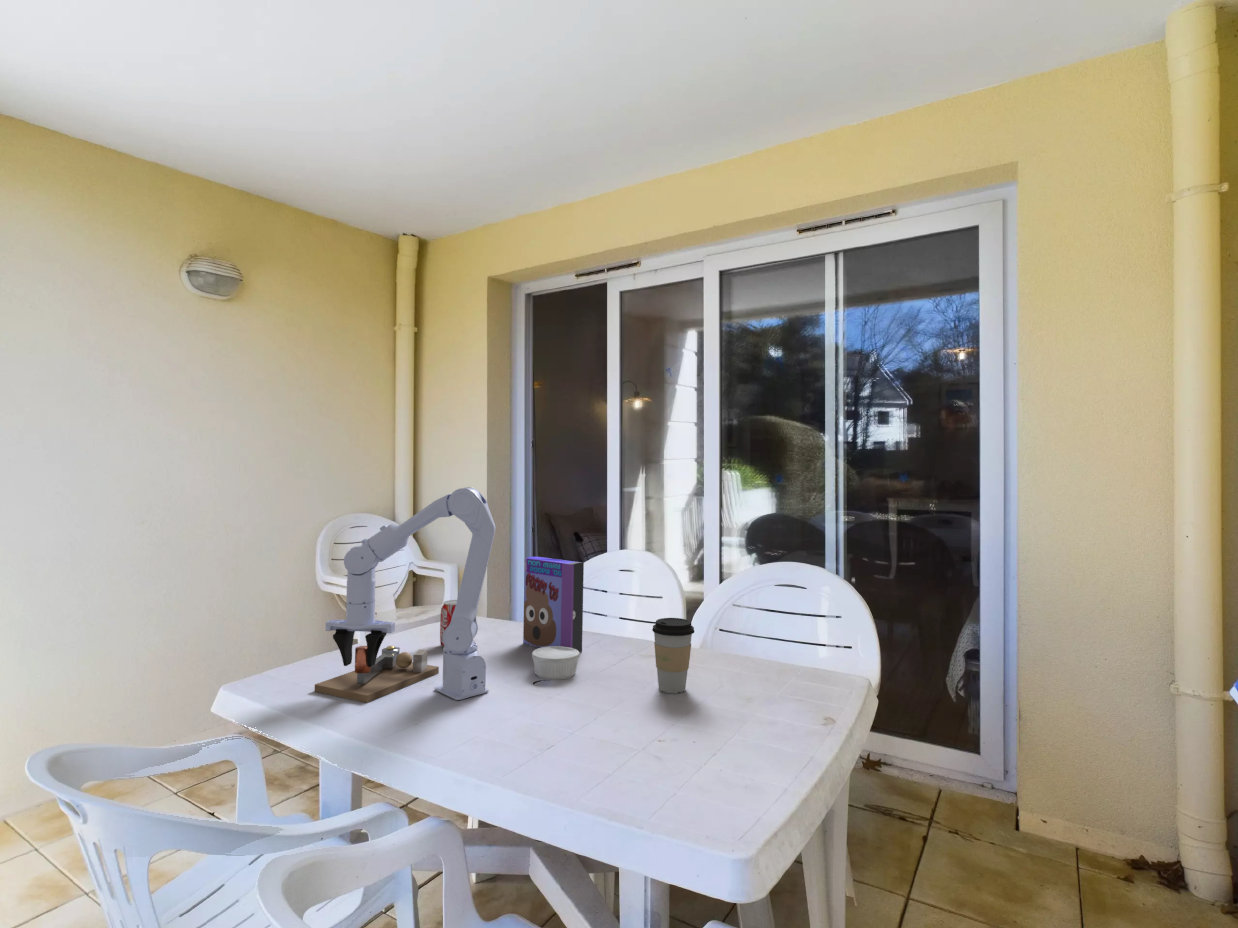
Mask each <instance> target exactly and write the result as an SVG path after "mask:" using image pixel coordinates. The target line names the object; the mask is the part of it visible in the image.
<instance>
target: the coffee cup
mask: <svg viewBox="0 0 1238 928" xmlns="http://www.w3.org/2000/svg"><path fill="white" fill-rule="evenodd" d="M651 631H652V632H653V633H654V635H653V636H654V643H653V644H654V654H655V655H654V657H655V667H656V673H657V687H658V689H659V691H660V692H662V691H663V692H662V693H665V692H666V694H673V693H674V694H679V693H678V692H681V693H683V692H682V691H684V690H685V691H686V686H687V678H688V670H689V667H690V659H691V651H692V637H693V636H692V634H694V633H695V628H694V626H693V625H692V622H691V621H690V620H688V619H685V618H680V617H679V618H678V617H663V618H659V619H656V620H655V624H653V625H652V628H651ZM685 691H684V692H685Z"/></svg>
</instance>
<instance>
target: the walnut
mask: <svg viewBox="0 0 1238 928" xmlns="http://www.w3.org/2000/svg"><path fill="white" fill-rule="evenodd" d="M412 662H413V655H411V653H409V652H407V651H403V652H399V655H398V656H397V658H396V664H397V665H398V666H399V667H400V668H407V667H409V666H410V665H411V663H412Z"/></svg>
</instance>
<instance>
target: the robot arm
mask: <svg viewBox="0 0 1238 928" xmlns="http://www.w3.org/2000/svg"><path fill="white" fill-rule="evenodd" d="M452 516H455V517H456V518H457V519H459V520H460V521H462V522H463V523H464V524H465V526H466V527H467V528H468V530H469V531H470V532H471V538H470V539H471V540H470V544H469V549H468V552H467V557H466V560H465V565H464V571H463V572H462V577H461V581H460V582H461V583H460V587H459V590H458V595H457V599H456V600H457V603H456V606H455V609H454V612H453V615H452V619H451V622H450V624H449V626H448V627H447V628H446V629H445V631H444V633H443V644H444V647H443V651H442V652H443V653H442V654H443V655H442V685H438V686H435V687H434V690H435V691H437V692H439V693H441V694H443V695H445V696H447V697H449V698H451V699H453V700H454V701H455V700H456V701H460V700H464V699H468V698H472V697H474V696H479V695H482V694H486V693H489V691H490V690H489V689H488V688H486V678H487V677H486V673H487V671H486V669H487V667H486V666H487V665H486V661H485V658H483V657H482V656H481V655H480V653H479V651H478V644H477V643H476V641H475V640H474V638H475V637H476V635H477V633H478V630H479V628H478V626H479V625H478V623H477V615H478V611H479V610H478V607H479V604H480V603H479V602H480V597H481V595H482V589H483V585H484V581H485V577H486V572H487V568H488V564H489V560H490V556H491V552H492V547H493V542H494V539H495V534H496V532H497V531H496V529H497V528H496V524H495V521H494V519H493V515H492V513H491V511H490V508H489V504H488V500H487V499H486V498H485V497H484V496H483V494H482V493H481V492H480V491H479V490H478V489H476V488H475V487H471V486H468V487H462V488H458V489H455V490H453V492H452V493H448V494H446V495H444V496H442V497H440V498H437V499H435V500H434V501H432V502H431V503H429V504H428V505H427V506H425V507H424V508H423V509H421V510H420V511H418V512H417V513H415V514H414V515H413V516H411V517H410V518H408V519H407V520H405V521H404V522H403V523H401V524H394V523H391V524H388V525H387V524H384V525H382V526H381V527H379V530H380V531H378V532H376V533H375V534H373V535H372V536H370V537H369V538H368V539H367V538H364V539H362V540H360V543H361V545H359V546H357V545H356V546H353V547H351V548H350V549H349V550H348V551H347V552H346V553H345V555H344V557H343V566H344V568H345V570H346V571H347V574H346V576H347V578H346V579H347V580H346V604H345V605H346V609H345V610H346V611H345V618H346V619H330V620H328V621H326V622H325V632H332V631H335V633H333V635H332V639H333V640H334V642H335V644H336V645H337V648H338V650H339V653H340V656H341V660H342V663H343V666H344V667H347V666H349V665H351V664H352V661H353V660H352V659H353V643H354V637H355V632H364V633H367V634H365V637H364V638H365V641H366V646H367V650H368V656H367V665H368V667H372V666H373V665H375V662H376V658H378V654H379V650H380V648H381V645H382V644H383V641H384V639H385V637H386V636H387V634H393V633H394V632H395V631H396V630H395V629H396V623H395V622H393V621H385V620H384V621H383V620H379V619H378V620H377V619H375V618H376V617H375V615H376V567H377V566H378V564H379V563H381V562H382V563H383V562H384V561H385V560H387V559H388V558H390V557H392V556H393V555H394V554H396V553H397V552H399V551H401V550H402V549H404V548H405V547H406V546H407V544H408V541H409V538H410V536H412V535H413V534H415V533H417V532H419V531H420V530H422V529H423V528H425V527H427V526H428V525H429V524H431V523H433V522H434V521H436V520H437V519H439V518H450V517H452ZM368 632H369V633H368Z"/></svg>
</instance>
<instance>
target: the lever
mask: <svg viewBox="0 0 1238 928" xmlns="http://www.w3.org/2000/svg"><path fill="white" fill-rule="evenodd" d="M400 650H401V649H400V647H397V646H395V645H388V646H386V647H383V648H382V649H381V654H380V655H379V656H377V657H376V662H375V665H373V666H372V667H368V665H367V656H368V650H367V645H360V646H356V647H355V649H354V651H355V652H354V653H355V654H354V656H355V657H354V671H355V673H357V684H365V683H366V682H368V681H369V680H370V679H371V678H373V677H374V676H375V675H376V674H378V673H379V672H380V671H381V670H383V669H384V668H393V667H394V666H396V665H397V664H396V658H397V656H398V655H399V654H400Z"/></svg>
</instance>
